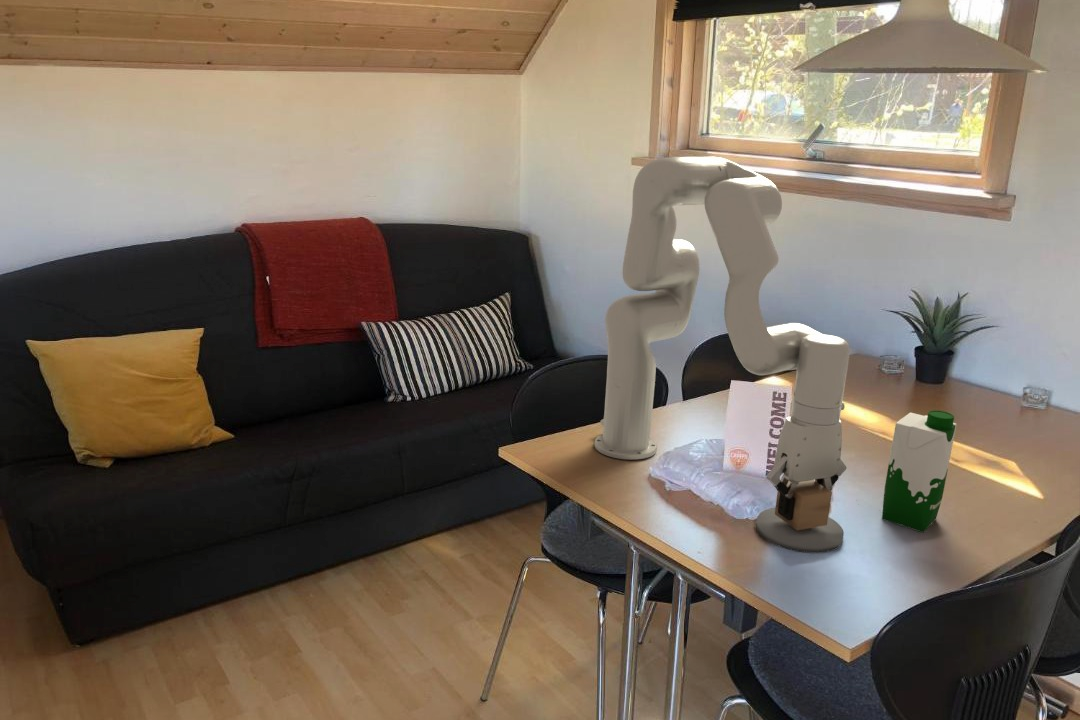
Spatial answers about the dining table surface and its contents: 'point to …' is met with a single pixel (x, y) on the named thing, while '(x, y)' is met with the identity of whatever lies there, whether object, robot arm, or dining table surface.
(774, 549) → the dining table surface
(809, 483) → the walnut cube
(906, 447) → the soya milk
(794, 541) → the slate plate
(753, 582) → the dining table surface
